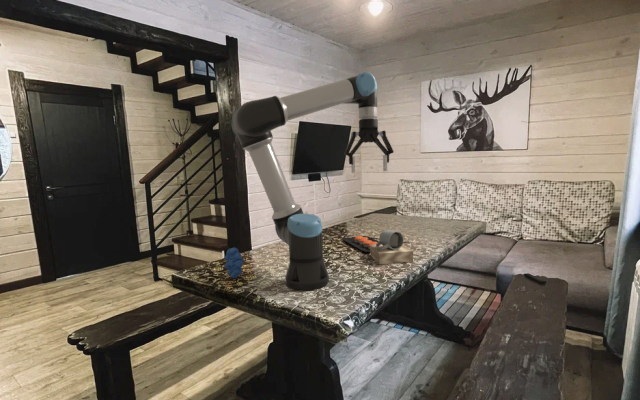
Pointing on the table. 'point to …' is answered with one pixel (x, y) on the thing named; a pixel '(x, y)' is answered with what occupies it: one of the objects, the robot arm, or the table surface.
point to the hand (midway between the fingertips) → (369, 171)
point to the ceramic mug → (390, 240)
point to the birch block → (391, 255)
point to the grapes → (234, 262)
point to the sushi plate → (362, 242)
